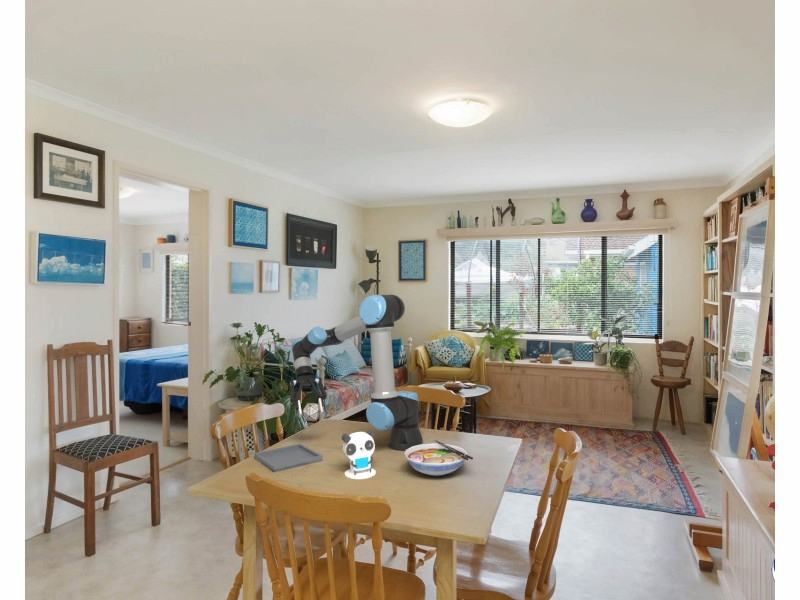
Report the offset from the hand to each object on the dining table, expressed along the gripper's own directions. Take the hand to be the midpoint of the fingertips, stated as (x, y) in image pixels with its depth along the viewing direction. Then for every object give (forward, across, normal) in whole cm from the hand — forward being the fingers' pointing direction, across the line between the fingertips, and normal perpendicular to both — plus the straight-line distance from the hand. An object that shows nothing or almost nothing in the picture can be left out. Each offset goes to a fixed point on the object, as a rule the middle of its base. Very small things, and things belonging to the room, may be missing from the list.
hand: (311, 414), depth 210 cm
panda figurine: (+34, -11, +12) cm, 38 cm away
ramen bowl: (+41, -37, +20) cm, 59 cm away
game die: (+1, -1, -5) cm, 5 cm away
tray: (+16, +11, -6) cm, 20 cm away
